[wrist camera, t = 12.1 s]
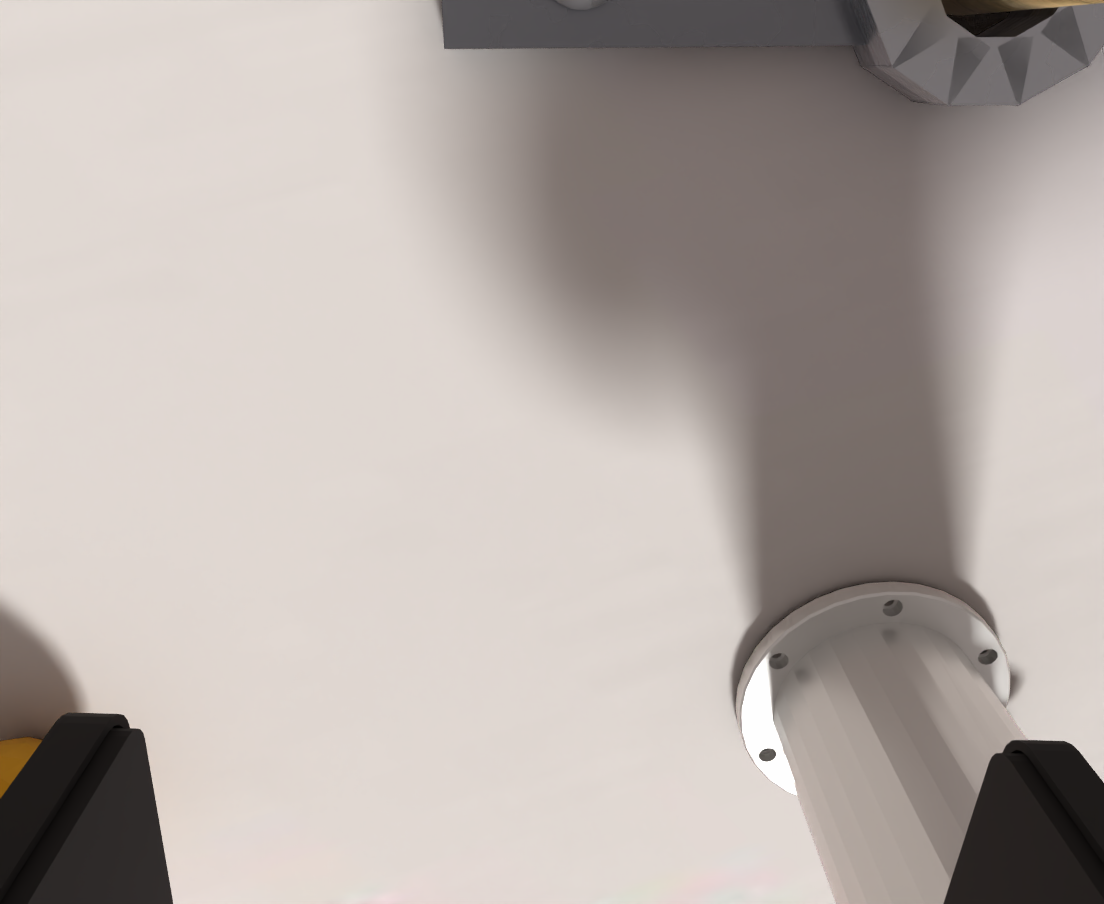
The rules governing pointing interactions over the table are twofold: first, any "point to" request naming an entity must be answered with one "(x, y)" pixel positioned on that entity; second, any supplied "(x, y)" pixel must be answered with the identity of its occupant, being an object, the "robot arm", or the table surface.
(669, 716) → the table surface
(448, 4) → the lower chain end
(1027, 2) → the brass pin
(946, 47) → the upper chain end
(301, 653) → the table surface
